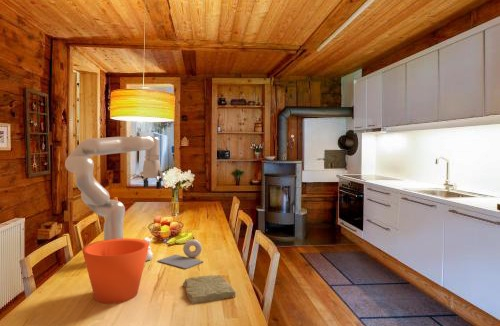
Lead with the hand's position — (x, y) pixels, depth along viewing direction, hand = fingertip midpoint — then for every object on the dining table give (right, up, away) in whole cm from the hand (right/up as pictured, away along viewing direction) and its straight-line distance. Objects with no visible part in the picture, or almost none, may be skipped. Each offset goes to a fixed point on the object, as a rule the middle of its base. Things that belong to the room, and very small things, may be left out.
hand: (152, 187), depth 203 cm
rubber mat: (+20, -37, -19) cm, 46 cm away
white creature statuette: (+1, -37, -16) cm, 40 cm away
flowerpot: (+2, -39, -61) cm, 72 cm away
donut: (+25, -37, -11) cm, 46 cm away
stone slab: (+38, -40, -55) cm, 78 cm away
